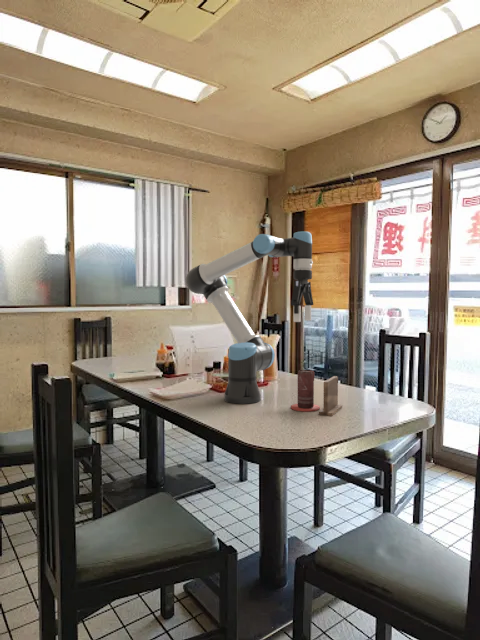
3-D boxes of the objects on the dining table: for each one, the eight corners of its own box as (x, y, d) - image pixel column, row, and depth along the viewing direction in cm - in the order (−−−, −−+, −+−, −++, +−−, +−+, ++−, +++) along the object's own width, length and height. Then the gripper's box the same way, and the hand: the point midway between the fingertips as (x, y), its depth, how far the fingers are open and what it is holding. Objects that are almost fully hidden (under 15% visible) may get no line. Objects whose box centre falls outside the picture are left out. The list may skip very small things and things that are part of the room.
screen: (318, 414, 161) (318, 381, 161) (329, 406, 174) (329, 375, 173) (332, 416, 159) (332, 382, 159) (342, 407, 171) (342, 376, 171)
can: (314, 409, 167) (314, 372, 166) (297, 408, 168) (297, 371, 167) (314, 405, 173) (314, 369, 172) (298, 404, 174) (298, 369, 173)
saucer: (286, 409, 169) (286, 408, 169) (296, 403, 178) (296, 402, 178) (314, 412, 164) (314, 411, 164) (323, 406, 173) (323, 405, 173)
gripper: (301, 267, 171) (301, 322, 172) (320, 271, 193) (320, 320, 194) (283, 268, 175) (283, 322, 175) (303, 271, 197) (303, 319, 198)
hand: (302, 321), depth 185 cm, fingers open, 13 cm apart
